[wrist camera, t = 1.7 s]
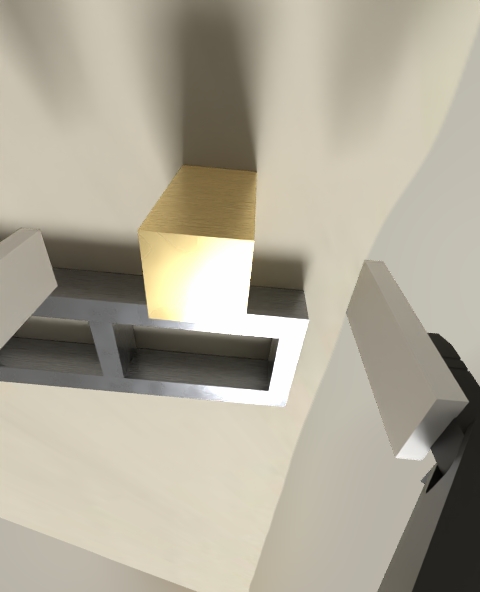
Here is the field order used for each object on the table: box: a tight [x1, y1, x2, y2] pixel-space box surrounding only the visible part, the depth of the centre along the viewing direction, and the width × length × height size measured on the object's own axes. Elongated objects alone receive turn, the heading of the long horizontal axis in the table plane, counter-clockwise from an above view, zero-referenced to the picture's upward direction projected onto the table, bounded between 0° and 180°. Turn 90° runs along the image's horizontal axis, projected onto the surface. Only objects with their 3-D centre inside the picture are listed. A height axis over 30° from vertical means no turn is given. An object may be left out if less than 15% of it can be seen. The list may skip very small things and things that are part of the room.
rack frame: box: [0, 268, 309, 407], centre depth 23 cm, size 9×26×3 cm, turn 86°
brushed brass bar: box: [138, 165, 257, 327], centre depth 15 cm, size 4×4×8 cm
